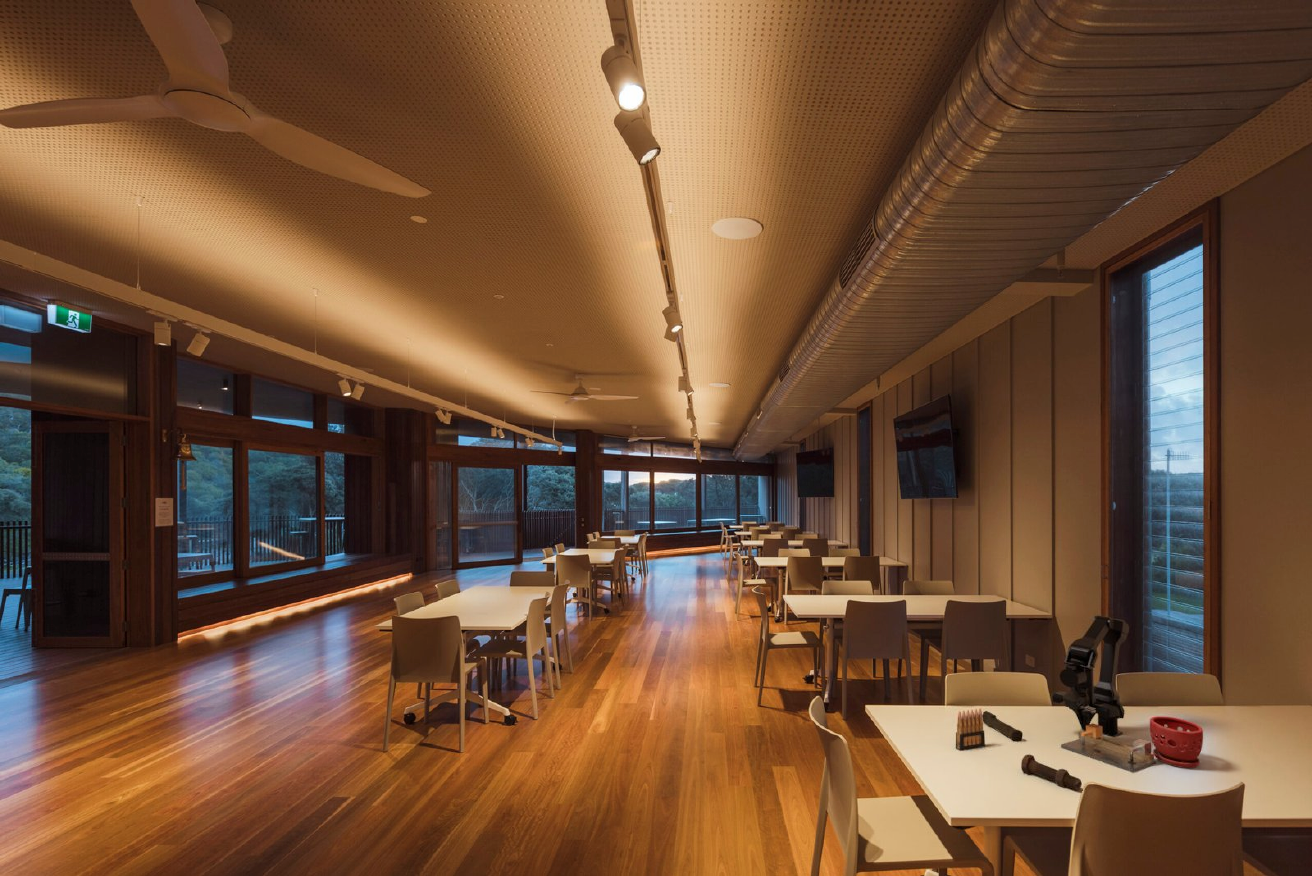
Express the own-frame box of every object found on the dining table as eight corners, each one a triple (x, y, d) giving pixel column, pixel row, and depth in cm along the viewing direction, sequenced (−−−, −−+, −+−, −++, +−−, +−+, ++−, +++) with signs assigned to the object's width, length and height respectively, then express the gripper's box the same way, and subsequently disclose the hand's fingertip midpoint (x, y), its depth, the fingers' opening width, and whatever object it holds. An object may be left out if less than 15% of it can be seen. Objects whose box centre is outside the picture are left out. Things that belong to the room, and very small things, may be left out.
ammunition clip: (980, 744, 220) (980, 707, 221) (985, 746, 218) (984, 708, 219) (955, 748, 216) (955, 710, 217) (960, 750, 214) (959, 712, 215)
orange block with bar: (1093, 739, 223) (1092, 723, 223) (1102, 742, 220) (1102, 726, 220) (1077, 743, 218) (1077, 727, 219) (1087, 747, 216) (1087, 730, 216)
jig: (1085, 740, 225) (1084, 721, 226) (1156, 763, 207) (1155, 743, 207) (1061, 747, 218) (1060, 728, 219) (1132, 772, 200) (1131, 751, 201)
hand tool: (1023, 742, 223) (1023, 728, 223) (1012, 742, 223) (1011, 728, 223) (990, 722, 242) (990, 709, 242) (979, 722, 242) (979, 709, 242)
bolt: (1077, 799, 186) (1024, 777, 199) (1086, 786, 189) (1032, 765, 201) (1072, 783, 185) (1018, 761, 198) (1081, 770, 187) (1027, 750, 200)
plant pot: (1141, 757, 212) (1140, 718, 212) (1167, 751, 217) (1165, 713, 218) (1187, 774, 200) (1186, 733, 200) (1214, 767, 205) (1212, 727, 206)
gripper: (1041, 678, 229) (1042, 725, 228) (1099, 693, 212) (1100, 744, 211) (1060, 674, 234) (1061, 720, 233) (1118, 689, 218) (1119, 738, 217)
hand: (1084, 730), depth 223 cm, fingers closed
